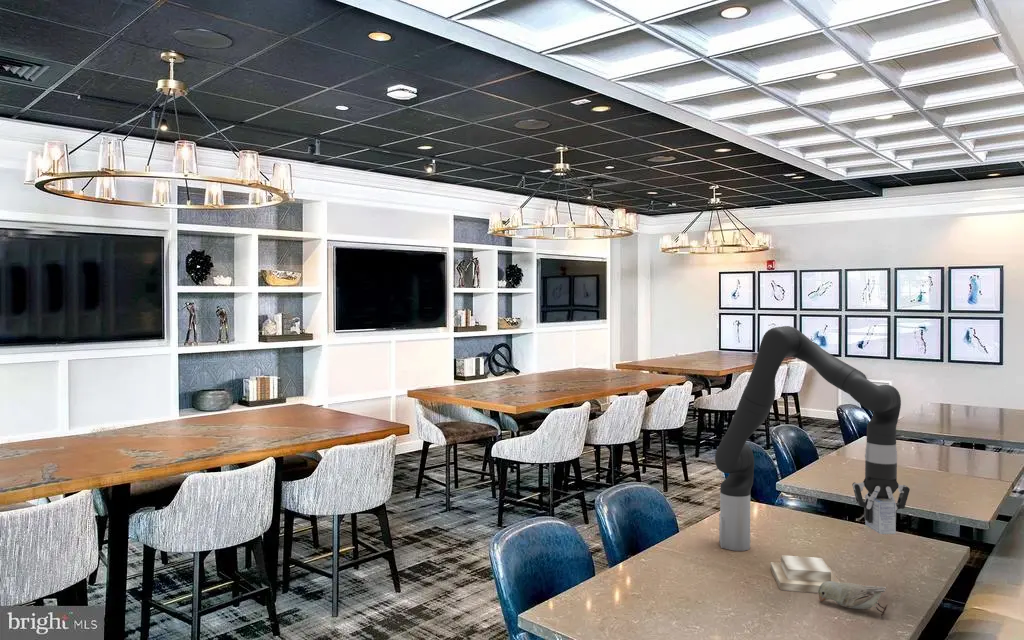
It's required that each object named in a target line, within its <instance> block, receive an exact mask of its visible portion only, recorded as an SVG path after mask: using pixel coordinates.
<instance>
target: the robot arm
mask: <svg viewBox="0 0 1024 640" xmlns="http://www.w3.org/2000/svg"><path fill="white" fill-rule="evenodd" d="M760 341H761V342H760V344H759V349H758V352H757V355H756V359H755V363H754V365H753V368H752V371H751V372H750V375H749V378H748V380H747V383H746V386H745V388H744V389H743V392H742V395H741V397H740V400H739V402H738V405H737V407H736V410H735V411H734V412H735V413H734V414H733V417H732V419H731V422H730V424H729V426H728V428H727V431H726V433H725V434H724V435H723V437H722V439H721V441H720V442H719V445H718V447H717V449H716V451H715V455H714V462H715V466H716V468H717V469H718V470H719V471H720V472H721V473H724V474H728V476H727V477H726V478H725V480H723V481H722V482H721V483H720V487H719V488H720V496H719V497H720V499H719V501H720V503H719V511H720V513H719V520H718V521H719V529H718V530H719V531H718V533H719V537H718V538H719V540H718V541H719V546H720V549H726V550H730V551H737V552H742V551H748V550H750V548H751V490H752V487H753V485H754V476H755V475H754V474H755V473H754V472H755V456H754V452H753V450H752V448H751V446H750V445H749V444H747V443H746V442H747V440H748V439H749V438H750V437H751V436H752V435H753V434H754V432H756V431H757V429H758V428H759V427H760V426H761V425H763V423H764V422H765V421H766V420H767V417H769V414H770V412H771V409H772V407H773V404H774V402H775V398H776V378H777V373H778V371H779V369H780V367H781V365H782V363H783V361H784V359H785V358H789V357H792V358H796V359H798V360H801V361H803V362H805V363H807V364H808V365H809V366H811V367H812V368H813V369H814V370H815V371H816V373H818V374H819V375H820V376H821V377H822V378H823V379H824V380H825V381H826V382H827V383H829V384H830V385H833V386H834V387H835V388H837V389H839V390H840V391H843V392H845V393H846V394H848V395H849V396H850V397H851V398H852V399H854V400H855V401H856V402H857V403H858V404H860V405H861V406H862V407H864V409H867V410H868V411H871V412H872V416H871V419H870V421H868V423H867V425H866V443H865V451H864V452H865V453H864V460H865V462H864V463H865V465H864V466H865V469H864V479H863V481H862V482H853V483H852V488H853V492H854V497H855V501H856V504H857V505H858V506H859V507H862V508H864V509H863V510H864V511H863V518H864V521H865V520H866V521H867V522H868V523H872V509H871V507H872V505H873V502H874V501H875V499H876V498H881V497H882V498H887V499H888V498H889V500H893V501H894V502H895V503H896V516H898V515H897V511H898V510H901V509H902V510H903V509H905V508H906V505H907V500H908V497H909V493H910V488H909V487H908V486H907V485H905V484H899V482H898V479H897V477H898V475H897V474H898V450H897V425H898V421H899V418H900V412H901V408H902V407H901V406H902V399H901V394H900V392H899V390H898V389H897V388H895V387H894V386H893V385H890V384H880V385H877V384H875V383H874V382H872V381H870V380H869V379H868V378H867V375H866V374H865V373H863V372H862V371H861V370H859V369H857V368H855V367H853V366H852V365H850V364H849V363H846V362H845V361H843V360H841V359H839V358H838V357H835V356H834V355H832V354H831V353H829V352H827V351H826V350H825V349H823V348H822V347H821V346H819V345H818V344H817V343H815V342H814V341H813V340H811V339H810V338H809V337H808V336H806V335H805V334H804V333H803V332H801V331H800V330H799V329H798V328H796V327H794V326H791V325H784V326H778V327H772V328H769V329H767V331H766V332H765V333H764V334H763V336H762V338H761V340H760ZM864 488H865V489H866V491H867V493H866V494H867V496H866V495H865V496H866V500H864V498H863V495H862V492H863V491H864ZM896 491H898V492H899V494H898V497H897V501H896V500H895V497H894V493H895V492H896Z"/></svg>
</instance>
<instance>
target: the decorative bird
mask: <svg viewBox="0 0 1024 640" xmlns="http://www.w3.org/2000/svg"><path fill="white" fill-rule="evenodd" d="M886 591H887V586H882V585H881V586H878V585H863V584H861V583H859V584H858V583H851V582H840V583H838V582H834V581H827V582H824V583H822V584H821V585H820V587H819V591H818V593H817V594H818V599H819V602H820V603H821V602H824V601H826V600H831V601H834V602H835V603H837V604H838V605H840V606H842V607H844V608H847V609H857V610H865V609H866V610H868V609H871V608H875V609H876V610H877V611H878V612H879V613H881V614H880V617H883V616H884V614H885V611H886V610H887V607H888V604H887V605H885V607H883V606H882V605H881V604H880V603H879V602H878V600H880V597H881V596H882V593H885V592H886ZM876 604H877V605H878V606H879V607H877V605H876ZM879 608H881V609H883V610H880V609H879Z"/></svg>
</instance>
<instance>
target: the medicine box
mask: <svg viewBox="0 0 1024 640" xmlns="http://www.w3.org/2000/svg"><path fill="white" fill-rule="evenodd" d="M864 496H865V498H864V499H865V500H866V496H867V493H866V494H865V495H864ZM865 500H864V501H865ZM896 503H897V502H896V501H895V502H894V501H893V500H889V498H888V499H887V498H882V497H881V498H876V499H875V501H874V502H873V505H872V507H871V509H872V523H868V522H867V521H866V520H865V519H864V521H865V523H864V525H865V526H867V527H868V528H870V529H871V530H873V531H874V532H876V533H878V534H880V535H896V533H897V529H896V527H897V524H896V523H897V515H896Z"/></svg>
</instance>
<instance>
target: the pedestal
mask: <svg viewBox="0 0 1024 640" xmlns="http://www.w3.org/2000/svg"><path fill="white" fill-rule="evenodd" d="M770 571H771V574H772V575H773V577H774V580H775V582H776V584H777V586H778V589H779V591H787V592H789V591H790V592H802V593H814V594H819V593H818V591H819V587H820V585H821V584H822V583H824V582H827V581H834V582H838V583H841V582H840V580H839V579H838V578H837V576H836V574H835V573H834V571H833V570H832V568H831V567H830V566H829V565H827V564H826V562H825V561H824V559H823V558H822V557H813V556H812V557H811V556H797V555H780V562H779V561H777V562H776V561H775V562H774V561H770Z"/></svg>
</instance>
